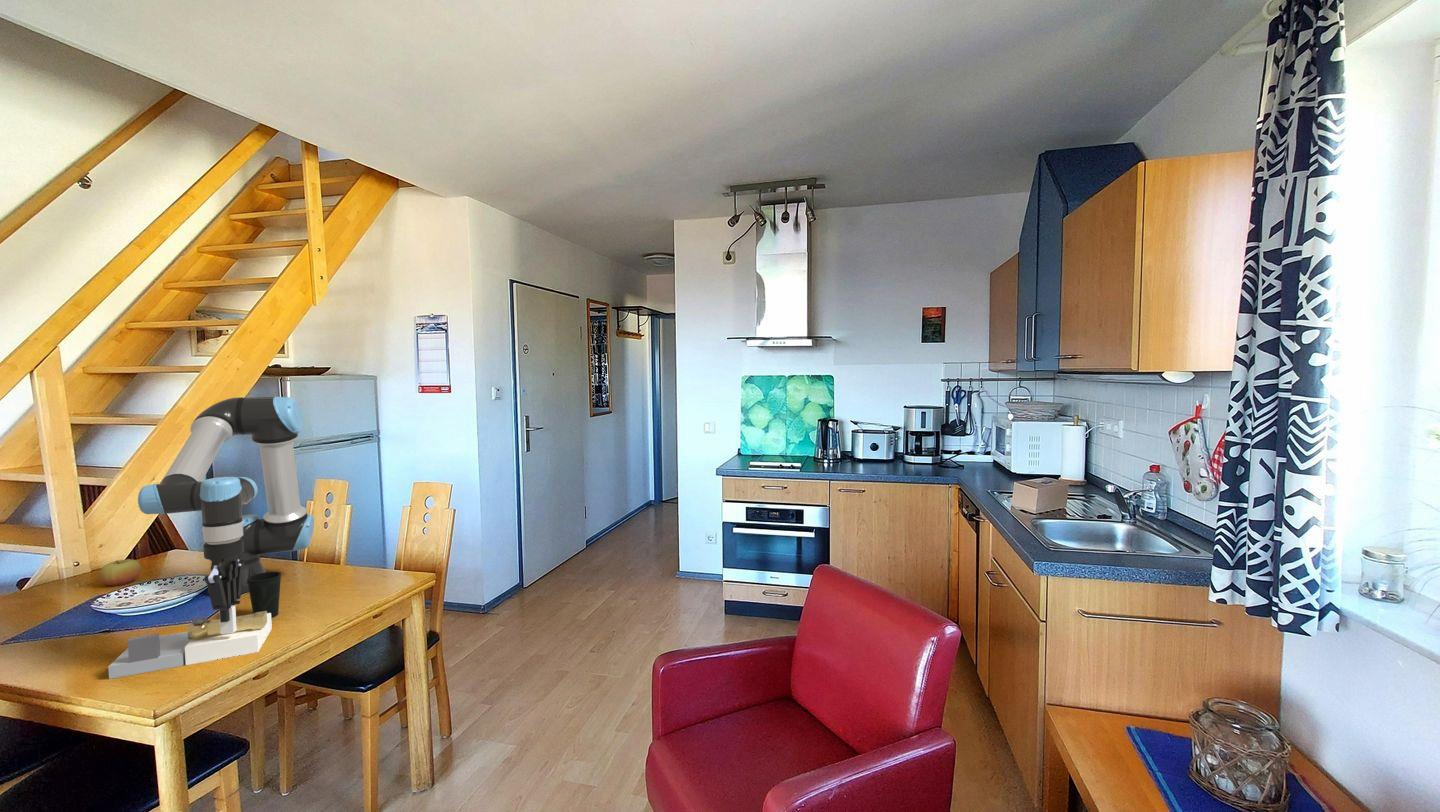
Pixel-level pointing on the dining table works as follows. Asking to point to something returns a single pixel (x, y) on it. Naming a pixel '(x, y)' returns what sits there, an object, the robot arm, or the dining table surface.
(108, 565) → the apple
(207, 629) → the bar
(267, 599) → the cup
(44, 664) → the dining table surface
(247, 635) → the doorframe
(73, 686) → the dining table surface
